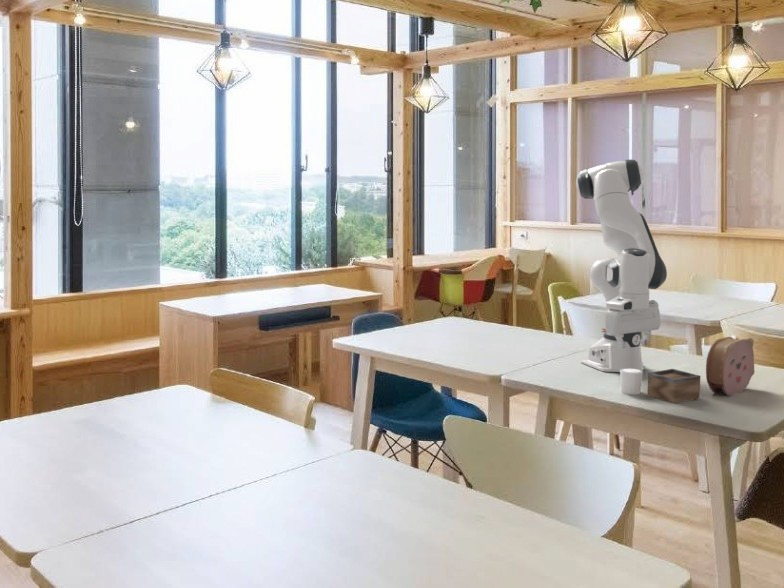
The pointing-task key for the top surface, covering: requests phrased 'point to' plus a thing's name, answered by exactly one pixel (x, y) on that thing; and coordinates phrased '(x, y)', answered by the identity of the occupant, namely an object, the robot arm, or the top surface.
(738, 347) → the face sculpture
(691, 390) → the wooden box
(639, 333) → the robot arm
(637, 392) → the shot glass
